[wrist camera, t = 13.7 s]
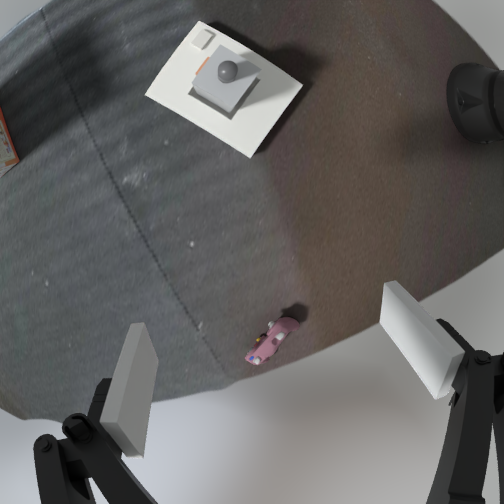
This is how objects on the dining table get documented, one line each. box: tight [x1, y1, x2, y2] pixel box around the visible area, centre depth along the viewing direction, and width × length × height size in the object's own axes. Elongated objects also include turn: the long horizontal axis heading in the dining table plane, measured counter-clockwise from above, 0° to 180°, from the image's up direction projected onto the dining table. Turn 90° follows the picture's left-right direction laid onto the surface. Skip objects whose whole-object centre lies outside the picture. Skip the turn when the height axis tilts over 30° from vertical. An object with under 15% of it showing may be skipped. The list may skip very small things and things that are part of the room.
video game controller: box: [245, 317, 300, 365], centre depth 49 cm, size 10×5×7 cm, turn 144°
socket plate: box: [145, 21, 303, 158], centre depth 35 cm, size 16×12×3 cm
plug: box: [191, 44, 262, 113], centre depth 30 cm, size 6×5×13 cm
